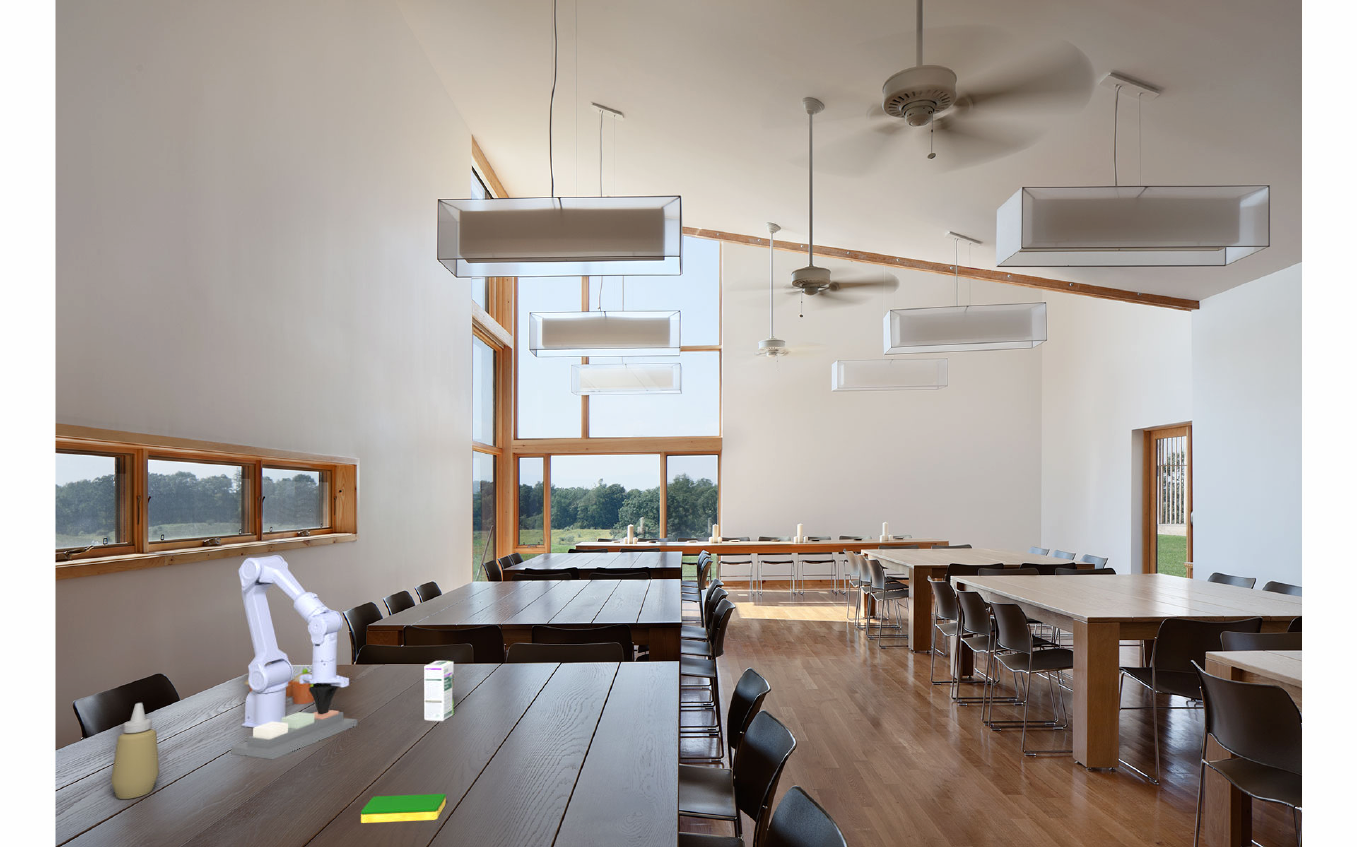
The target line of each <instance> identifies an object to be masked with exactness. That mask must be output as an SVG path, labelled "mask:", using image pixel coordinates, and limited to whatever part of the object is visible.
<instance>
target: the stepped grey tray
mask: <svg viewBox="0 0 1357 847" xmlns="http://www.w3.org/2000/svg"><path fill="white" fill-rule="evenodd" d="M353 726H354V727H357V726H358V719H356V718H345V717H344V711H342V712H341V711H339V714H336V715H333V716H330V717H328V718H325V719H316V718H314V723H312V724H309V725H306V726H304V727H301V728H298V729H295V728H288V733H285V734H282V735H279V736H277V737H274V738H271V739H264V738H256V737H253V734H252V735H250V736H248V737H247V740H246V741H244V742H241V743H238V744H235V745H233V746H230V748H231V749H230V754H231V755H232V754H233V755H240V756H245V755H247V756H246V757H252V758H253V757H254V758H261V759H267V760H268V759H269V760H275V759H278V758H281V757H283V756H286V755H288V754H290V753H293V752H295V751H297V749H298V750H300V749H302V748H305V747H307V746H310V745H312V744H315V743H317V742H320V741H322V740H325V739H328V738H330V737H332V736H335V735H337V734H340V733H341V732H345V731H347V730H349V728H350V729H351V728H354V727H353ZM319 740H320V741H319ZM299 748H300V749H299ZM294 750H295V751H294ZM292 751H293V752H292Z"/></svg>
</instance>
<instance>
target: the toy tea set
mask: <svg viewBox="0 0 1357 847" xmlns="http://www.w3.org/2000/svg"><path fill="white" fill-rule="evenodd" d="M301 672H302V673H299V674H297V675H295V677H294V678H292V679H291V681H290V682H288V686H287V687H286V698H288V697H289V698H292V702H293V704H295V705H305V704H311V703H313V702H315V700H314V698H313V696H312V694H311V693H310V691H309V688H310V687H313V684H309V683H304V684H300V676H302V675H305V674H308V675H312V672H309V670H308V669H307V668H304V669H302V671H301ZM243 684H244V685H245V686H248V687H249V693H250V692H251V691H252V689H251V687H250V685H249V682H248V679H247V680H245V682H244V683H243Z"/></svg>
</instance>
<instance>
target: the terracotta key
mask: <svg viewBox="0 0 1357 847" xmlns="http://www.w3.org/2000/svg"><path fill="white" fill-rule="evenodd" d="M339 712H340V711H339V710H332V709H331V710H330V709H329V711H328V713H325V714H318V711H314V712H312V713H311V714H315V716H314V718H316V719H325V718H328V717H330V716H333V715H336V714H339Z"/></svg>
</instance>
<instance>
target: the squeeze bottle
mask: <svg viewBox="0 0 1357 847" xmlns="http://www.w3.org/2000/svg"><path fill="white" fill-rule="evenodd" d="M132 710H133V711H132V714H131V717H130V720H129V721H126V722H124V724H123V733H122V734H121V735H119V736H118V737H117V741H116V742H117V743H116V747H115V753H114V759H113V765H112V770H111V772H112V773H111V777H110V782H111V785H112V788H113V791H114V793H115V796H116V799H119V800H120V799H121V800H128V799H135V798H140V797H142V796H145V795H147V794H150V793H151V792H152V791H153V789H154V786H155V783H156V782H157V778H158V776H159V774H160V766H159V765H160V764H159V752H158V751H159V750H158V737H157V736H158V735H157V730H155V729H153V728H152V722H153V721H152V719H151V718H146V714H145V709H144V705H143V702H137V703H135V704H134V708H133V709H132Z"/></svg>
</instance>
